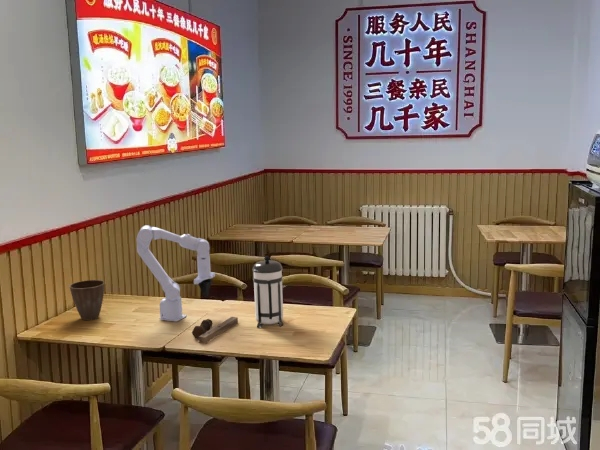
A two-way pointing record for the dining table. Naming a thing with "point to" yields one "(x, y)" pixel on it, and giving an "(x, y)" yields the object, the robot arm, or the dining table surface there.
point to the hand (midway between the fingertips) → (205, 295)
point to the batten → (218, 330)
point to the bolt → (202, 328)
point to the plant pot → (88, 298)
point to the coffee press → (268, 292)
